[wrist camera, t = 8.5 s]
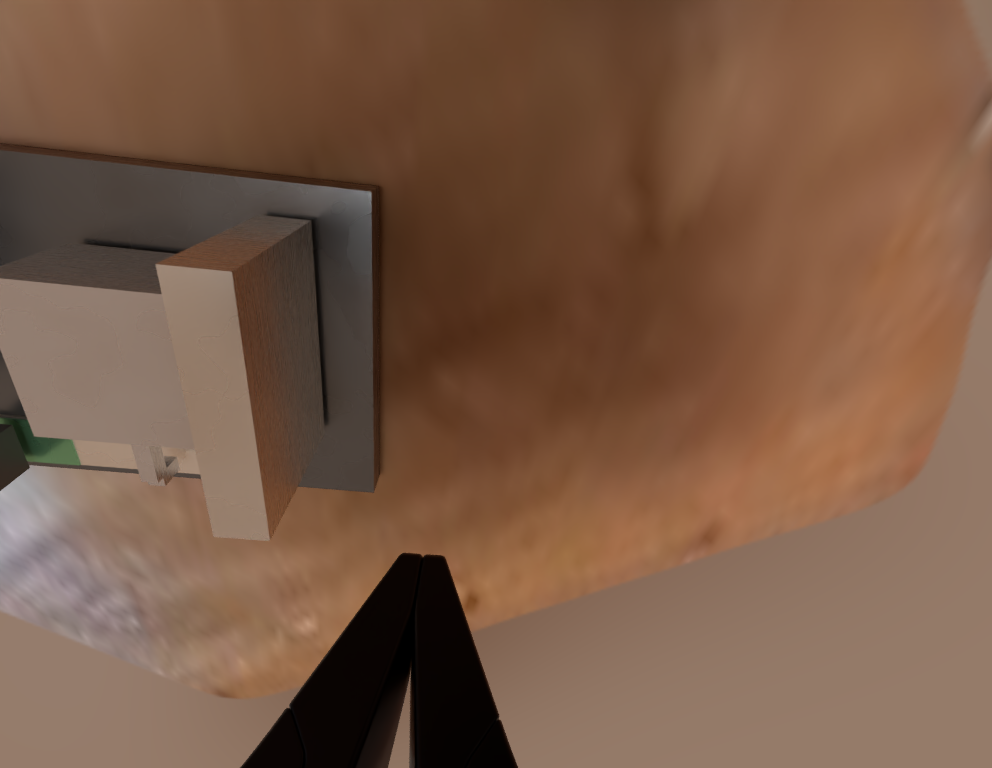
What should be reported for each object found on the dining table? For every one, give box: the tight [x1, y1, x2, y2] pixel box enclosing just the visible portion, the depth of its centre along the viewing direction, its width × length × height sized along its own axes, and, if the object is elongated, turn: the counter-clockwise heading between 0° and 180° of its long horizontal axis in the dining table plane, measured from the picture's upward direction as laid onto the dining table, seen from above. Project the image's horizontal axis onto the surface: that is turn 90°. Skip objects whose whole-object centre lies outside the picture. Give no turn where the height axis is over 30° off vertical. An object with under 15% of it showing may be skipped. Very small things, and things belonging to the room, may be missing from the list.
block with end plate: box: [0, 215, 325, 541], centre depth 16 cm, size 8×10×6 cm
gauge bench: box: [0, 143, 380, 493], centre depth 16 cm, size 20×12×7 cm, turn 84°
